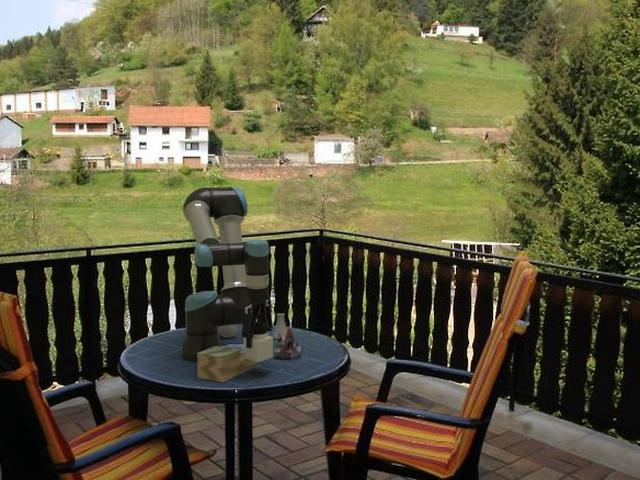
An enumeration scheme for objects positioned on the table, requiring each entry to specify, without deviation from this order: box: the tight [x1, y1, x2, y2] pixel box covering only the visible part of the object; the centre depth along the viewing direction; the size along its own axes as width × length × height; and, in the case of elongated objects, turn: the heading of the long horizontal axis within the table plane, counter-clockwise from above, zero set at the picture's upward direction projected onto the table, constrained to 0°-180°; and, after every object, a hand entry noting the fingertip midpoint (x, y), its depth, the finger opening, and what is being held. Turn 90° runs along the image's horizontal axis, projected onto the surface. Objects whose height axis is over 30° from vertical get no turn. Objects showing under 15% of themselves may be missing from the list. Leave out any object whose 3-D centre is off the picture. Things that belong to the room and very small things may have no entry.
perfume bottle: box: [218, 325, 238, 339], centre depth 263 cm, size 8×10×12 cm
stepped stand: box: [196, 346, 257, 383], centre depth 217 cm, size 10×20×8 cm, turn 153°
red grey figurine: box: [273, 326, 303, 360], centre depth 235 cm, size 11×11×12 cm
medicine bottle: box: [243, 321, 274, 363], centre depth 213 cm, size 7×7×12 cm
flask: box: [271, 312, 288, 340], centre depth 261 cm, size 7×7×10 cm
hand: (257, 353), depth 214 cm, fingers closed on medicine bottle, 8 cm apart
